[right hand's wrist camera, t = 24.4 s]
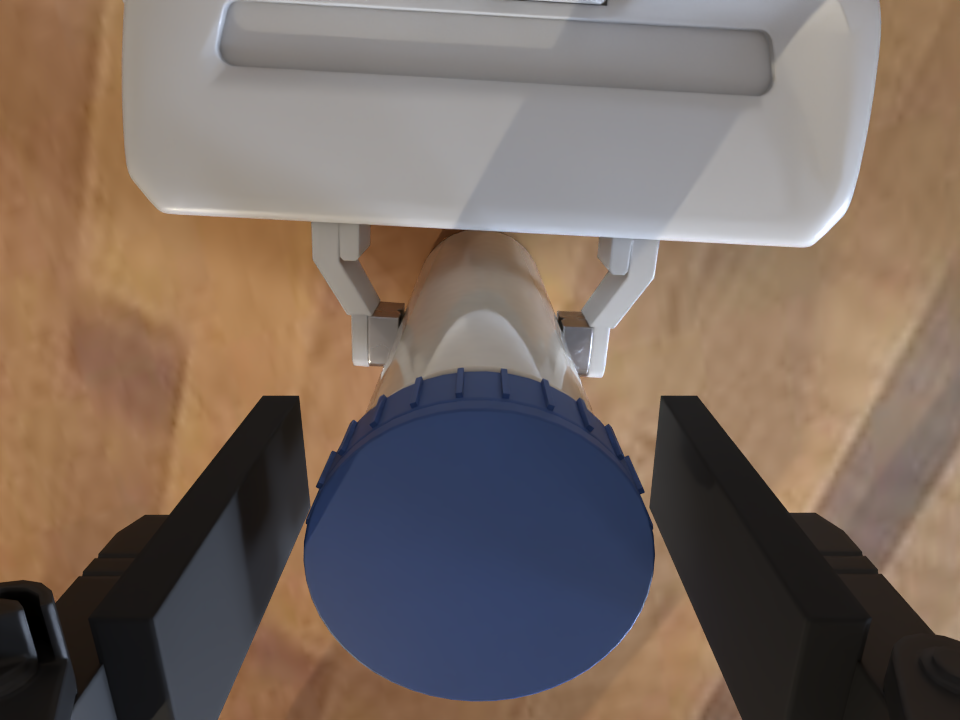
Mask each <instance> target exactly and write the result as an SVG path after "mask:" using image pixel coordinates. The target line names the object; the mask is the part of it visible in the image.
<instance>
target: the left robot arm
mask: <svg viewBox="0 0 960 720" xmlns="http://www.w3.org/2000/svg"><path fill="white" fill-rule="evenodd" d="M123 2H124V17H123V41H122V110H123V130H124V146H125V156H126V164H127V168H128V172H129V175H130V177H131V179H132V180H133V181H134V183H135V184H136V185H137V186H138V187H139V189H140V190H141V191H142V192H143V193H144V195H145V196H146V197H147V198H148V199H149V201H150V202H151V203H152V204H153V205H154V206H155V207H156V208H157V209H158V210H159V211H161V212H163V213H167V214H180V215H199V216H218V217H236V218H255V219H274V220H293V221H311V224H312V253H313V261H314V262H315V264H316V266H317V267H318V269H319V270H320V272H321V274H322V275H323V277H324V278H325V280H326V282H327V283H328V285H329V286H330V288H331V290H332V291H333V293H334V294H335V296H336V297H337V299H338V301H339V302H340V304H341V305H342V307H343V309H344V310H345V312H346V313H347V315H351V319H352V360H353V364H354V365H356V366H367V367H369V366H384V364H385V362H386V359H387V357H388V354H389V351H390V349H391V346H392V344H393V341H394V339H395V336H396V333H397V331H398V328H399V326H400V323H401V321H402V318H403V316H404V313H405V303H392V302H380V299H379V297H378V295H377V293H376V291H375V290H374V288H373V286H372V284H371V282H370V280H369V279H368V277H367V275H366V273H365V271H364V269H363V268H362V266H361V264H360V262H359V260H358V258H359V257H360V256H361V255H362V254H363V253H364V251H365V250H366V249H367V248H368V247H369V246H370V225H387V226H406V227H425V228H444V229H462V230H481V231H500V232H519V233H538V234H557V235H575V236H594V237H599V245H598V255H597V257H598V258H599V260H600V261H601V262H602V263H603V264H604V266H605V267H606V268H607V269H608V270H609V271H608V273H607V274H606V275H605V277H604V278H603V280H602V281H601V283H600V284H599V286H598V287H597V288H596V290H595V291H594V293H593V294H592V296H591V297H590V298H589V300H588V301H587V303H586V304H585V306H584V307H583V308H582V310H581V311H582V312H568V311H557V320H558V323H559V326H560V328H561V331H562V333H563V336H564V338H565V341H566V344H567V346H568V349H569V351H570V354H571V357H572V359H573V362H574V364H575V367H576V370H577V372H578V375H579V377H597V378H601V377H602V376H603V374H604V371H605V364H606V356H607V348H608V340H609V332H610V328H615V326H616V325H617V324H618V323H619V321H620V320H621V319H622V318H623V316H624V315H625V314H626V313H627V311H628V310H629V309H630V308H631V306H632V305H633V304H634V302H635V301H636V300H637V299H638V297H639V296H640V295H641V294H642V292H643V291H644V290H645V289H646V287H647V286H648V285H649V283H650V282H651V281H652V280H653V278H654V274H655V268H656V261H657V255H658V248H659V242H660V240H670V241H688V242H707V243H726V244H745V245H764V246H783V247H809V246H811V245H813V244H815V243H816V242H817V241H818V240H819V239H821V238H822V237H823V236H824V235H825V234H826V233H827V232H828V231H829V230H830V229H831V228H832V227H833V226H834V225H835V224H836V223H837V222H838V221H839V220H840V219H841V218H842V217H843V216H844V214H845V213H846V211H847V210H848V207H849V205H850V202H851V200H852V197H853V193H854V190H855V186H856V182H857V178H858V174H859V170H860V166H861V161H862V156H863V152H864V147H865V142H866V137H867V132H868V126H869V121H870V115H871V108H872V102H873V96H874V89H875V82H876V74H877V66H878V59H879V49H880V39H881V10H880V2H879V0H123Z"/></svg>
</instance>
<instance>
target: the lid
mask: <svg viewBox="0 0 960 720" xmlns="http://www.w3.org/2000/svg"><path fill="white" fill-rule="evenodd" d="M316 487H317V488H319V491H318V493H317V496H316V498H315V500H314V502H313V505H312V507H311V509H310V512H309V514H308V516H307V519H306V524H307V528H306V534H305V539H304V567H305V575H306V581H307V584H308V588H309V591H310V594H311V598H312V600H313V603H314V605H315V607H316V609H317V611H318V613H319V616H320V617H321V619H322V620H323V622H324V624H325V625H326V627H327V628H328V630H329V631H330V633H331V634H332V635H333V636H334V637H335V639H336V640H337V641H338V642H339V643H340V644H341V646H342V647H343V648H344V649H345V650H346V651H348V652H349V653H350V654H351V655H352V656H353V657H354V658H355V659H356V660H358V661H359V662H360V663H362V664H363V665H365V666H366V667H367V668H369V669H370V670H372V671H373V672H375V673H376V674H378V675H380V676H382V677H384V678H386V679H387V680H389V681H391V682H393V683H396V684H398V685H400V686H403V687H405V688H408V689H410V690H413V691H417V692H420V693H423V694H427V695H430V696H435V697H440V698H446V699H451V700H463V701H497V700H505V699H514V698H518V697H523V696H528V695H532V694H536V693H539V692H542V691H545V690H548V689H551V688H554V687H556V686H558V685H560V684H563V683H565V682H567V681H569V680H571V679H573V678H575V677H577V676H578V675H580V674H582V673H583V672H585V671H587V670H588V669H590V668H591V667H593V666H594V665H595V664H597V663H598V662H599V661H601V660H602V659H603V658H604V657H606V656H607V655H608V654H609V653H610V652H611V651H612V650H613V649H614V648H615V647H616V646H617V645H618V644H619V643H620V642H621V640H622V639H623V638H624V637H625V635H626V634H627V633H628V632H629V630H630V629H631V628H632V626H633V624H634V623H635V621H636V619H637V618H638V616H639V614H640V612H641V611H642V608H643V606H644V603H645V601H646V598H647V596H648V593H649V589H650V585H651V581H652V577H653V571H654V560H655V549H654V536H653V531H652V530H653V524H652V521H651V519H650V517H649V514H648V512H647V510H646V507H645V505H644V503H643V500H642V498H641V496H640V494H642V493H644V489H643V487H642V485H641V482H640V480H639V478H638V476H637V473H636V471H635V469H634V467H633V464H632V462H631V460H630V458H629V456H626V457H624V455H623V452H622V450H621V448H620V445H619V443H618V441H617V438H616V436H615V434H614V431H613V429H612V427H611V426H610V425H609V424H608V425H606V426H604V425H603V424H602V423H601V421H600V420H599V419H598V418H596V417H595V416H594V415H593V414H592V413H591V412H590V411H589V410H588V409H587V407H586V404H585V402H584V400H583V399H581V398H579V399H578V400H577V401H576V400H574V399H573V398H571V397H570V396H569V395H567V394H565V393H563V392H561V391H559V390H557V389H555V388H553V387H551V386H550V385H549V381H548V380H546V379H544V378H543V379H542V381H541V382H538V381H536V380H533V379H530V378H526V377H522V376H517V375H513V374H508V372H507V369H504V368H501V371H500V373H499V372H489V371H475V372H464V368H458V369H457V373H452V374H445V375H440V376H437V377H433V378H429V379H426V380H423V378H422V376H421V377H418V378H416V380H415V384H412V385H410V386H408V387H405V388H403V389H401V390H399V391H397V392H396V393H394V394H392V395H390V396H389V397H386V396H385V395H384V394H383V395H382V396H380V397H379V399H378V402H377V404H376V406H375V407H373V408H372V409H371V410H369V411H368V412H367V413H366V414H365V415H364V416H363V417H362V418H361V419H360V420H359V421H358V422H356V421H355V420H353V421H352V422H351V423H350V425H349V427H348V429H347V432H346V434H345V436H344V439H343V441H342V443H341V445H340V447H339V449H338V451H337V452H334V451H332V452H331V454H330V456H329V459H328V461H327V463H326V465H325V467H324V470H323V472H322V474H321V476H320V479H319V481H318V483H317V485H316Z"/></svg>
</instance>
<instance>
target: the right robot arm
mask: <svg viewBox="0 0 960 720" xmlns="http://www.w3.org/2000/svg"><path fill="white" fill-rule="evenodd" d="M309 510H310V498H309V488H308V478H307V469H306V459H305V449H304V440H303V430H302V420H301V410H300V401H299V396H262V398H261V399H260V400H259V402H258V403H257V404H256V405H255V407H254V408H253V409H252V410H251V412H250V413H249V414H248V415H247V417H246V418H245V419H244V421H243V422H242V423H241V424H240V426H239V427H238V428H237V429H236V431H235V432H234V433H233V435H232V436H231V437H230V438H229V440H228V441H227V442H226V443H225V445H224V446H223V447H222V449H221V450H220V451H219V452H218V454H217V455H216V456H215V457H214V459H213V460H212V461H211V463H210V464H209V465H208V466H207V468H206V469H205V470H204V471H203V473H202V474H201V475H200V477H199V478H198V479H197V480H196V482H195V483H194V484H193V485H192V487H191V488H190V489H189V491H188V492H187V493H186V494H185V496H184V497H183V498H182V499H181V501H180V502H179V503H178V505H177V506H176V507H175V508H174V510H173V511H172V512H171V513H170V515H144V516H143V517H141V518H140V519H138V520H136V521H135V522H133V523H132V524H130V525H129V526H127V527H126V528H124V529H122V530H121V531H119V532H118V533H117V534H116V535H115V536H114V537H113V538H112V539H111V540H110V542H109V543H108V544H107V545H106V546H105V547H104V548H103V550H102V551H101V552H100V553H99V554H98V555H99V556H98V558H95V559H94V560H93V561H92V562H91V563H90V564H89V565H88V567H87V568H86V569H85V570H84V571H83V576H79V577H78V578H77V579H76V580H75V581H74V583H73V584H72V585H71V586H70V587H69V588H68V589H67V590H66V592H65V593H64V594H63V595H62V596H61V597H60V598H59V600H58V601H57V602H56V603H55V601H54V598H53V594H52V591H51V590H50V589H49V588H47V587H46V586H45V585H43V584H42V583H39V582H33V581H26V580H20V581H11V582H2V583H0V720H218V718H219V715H220V713H221V711H222V709H223V706H224V704H225V702H226V699H227V697H228V695H229V693H230V690H231V688H232V686H233V683H234V681H235V679H236V677H237V674H238V672H239V670H240V667H241V665H242V663H243V661H244V658H245V656H246V654H247V651H248V649H249V647H250V645H251V642H252V640H253V638H254V635H255V633H256V631H257V629H258V626H259V624H260V622H261V619H262V617H263V615H264V613H265V610H266V608H267V606H268V603H269V601H270V599H271V597H272V594H273V592H274V590H275V587H276V585H277V583H278V581H279V578H280V576H281V574H282V571H283V569H284V567H285V565H286V562H287V560H288V558H289V555H290V553H291V551H292V549H293V546H294V544H295V542H296V539H297V537H298V535H299V533H300V530H301V528H302V526H303V523H304V521H305V519H306V517H307V514H308V512H309ZM650 510H651V512H652V514H653V517H654V519H655V521H656V523H657V526H658V528H659V530H660V533H661V535H662V537H663V539H664V542H665V544H666V546H667V549H668V551H669V553H670V555H671V558H672V560H673V562H674V565H675V567H676V569H677V571H678V574H679V576H680V578H681V581H682V583H683V585H684V587H685V590H686V592H687V594H688V597H689V599H690V601H691V603H692V606H693V608H694V610H695V613H696V615H697V617H698V619H699V622H700V624H701V626H702V629H703V631H704V633H705V635H706V638H707V640H708V642H709V645H710V647H711V649H712V651H713V654H714V656H715V658H716V661H717V663H718V665H719V667H720V670H721V672H722V674H723V677H724V679H725V681H726V683H727V686H728V688H729V690H730V693H731V695H732V697H733V699H734V702H735V704H736V706H737V709H738V711H739V713H740V715H741V718H742V720H960V641H957V640H954V639H951V638H948V637H946V636H940V635H935V634H934V633H933V631H932V630H931V629H930V628H929V627H928V626H927V625H926V624H925V622H924V621H923V620H922V619H921V618H920V617H919V616H918V615H917V613H916V612H915V611H914V610H913V609H912V608H911V607H910V605H909V604H908V603H907V602H906V601H905V600H904V599H903V598H902V596H901V595H900V594H899V593H898V592H897V591H896V590H895V589H894V587H893V586H892V585H891V584H890V583H889V582H888V581H887V579H886V578H885V577H884V576H883V575H882V574H878V569H877V568H876V567H875V566H874V565H873V564H872V563H871V561H870V560H869V559H868V558H867V557H866V556H863V555H862V551H861V550H860V549H859V548H858V547H857V546H856V544H855V543H854V542H853V541H852V540H851V539H850V538H849V537H848V535H847V534H846V533H845V532H844V531H843V530H841V529H840V528H838V527H837V526H835V525H834V524H832V523H830V522H829V521H827V520H826V519H824V518H823V517H821V516H820V515H818V514H816V513H789V512H788V511H787V510H786V508H785V507H784V506H783V505H782V503H781V502H780V501H779V499H778V498H777V497H776V496H775V494H774V493H773V492H772V491H771V489H770V488H769V487H768V485H767V484H766V483H765V482H764V480H763V479H762V478H761V477H760V475H759V474H758V473H757V471H756V470H755V469H754V468H753V466H752V465H751V464H750V463H749V461H748V460H747V459H746V457H745V456H744V455H743V454H742V452H741V451H740V450H739V449H738V447H737V446H736V445H735V443H734V442H733V441H732V440H731V438H730V437H729V436H728V435H727V433H726V432H725V431H724V429H723V428H722V427H721V426H720V424H719V423H718V422H717V421H716V419H715V418H714V417H713V416H712V414H711V413H710V412H709V410H708V409H707V408H706V407H705V405H704V404H703V403H702V402H701V400H700V399H699V398H698V396H661V401H660V410H659V420H658V430H657V440H656V449H655V459H654V469H653V478H652V488H651V498H650Z"/></svg>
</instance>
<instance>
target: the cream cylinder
mask: <svg viewBox="0 0 960 720" xmlns="http://www.w3.org/2000/svg"><path fill="white" fill-rule="evenodd" d="M458 368H464V372H475V371H489V372H499V373H500V371H501V368H504V369H507V372H508V374H513V375H517V376H522V377H526V378H530V379H533V380H536V381H538V382H541V381H542V379H543V378H544V379H546V380H548V381H549V385H550V386H551V387H553V388H555V389H557V390H559V391H561V392H563V393H565V394H567V395H569V396H570V397H571V398H573V399H574V400H576V401H577V400H578V399H579V398H581V399H583V400H584V402H585V404H586V407H587V409H588V410H589V411H590V412H591V413H592V414H593V411H592V408H591V406H590V403H589V401H588V398H587V395H586V393H585V390H584V388H583V385H582V382H581V380H580V377H579V375H578V372H577V370H576V367H575V364H574V362H573V359H572V357H571V354H570V351H569V349H568V346H567V344H566V341H565V338H564V336H563V333H562V331H561V328H560V326H559V323H558V320H557V318H556V315H555V313H554V310H553V307H552V305H551V302H550V300H549V297H548V294H547V292H546V289H545V287H544V284H543V282H542V279H541V276H540V274H539V271H538V269H537V266H536V264H535V262H534V260H533V258H532V257H531V255H530V254H529V253H528V251H527V250H526V249H525V248H524V247H523V246H522V245H521V244H520V243H518V242H517V241H516V240H514V239H513V238H511V237H509V236H507V235H505V234H503V233H500V232H497V231H481V230H466V231H462V232H459V233H456V234H454V235H452V236H450V237H448V238H446V239H445V240H444V241H442V242H441V243H440V244H439V245H437V246H436V247H435V248H434V249H433V251H432V252H431V253H430V254H429V256H428V257H427V259H426V261H425V263H424V265H423V267H422V269H421V272H420V275H419V277H418V280H417V282H416V285H415V287H414V290H413V292H412V295H411V298H410V300H409V303H408V305H407V308H406V310H405V313H404V316H403V318H402V321H401V323H400V326H399V328H398V331H397V333H396V336H395V339H394V341H393V344H392V346H391V349H390V351H389V354H388V357H387V359H386V362H385V364H384V367H383V369H382V372H381V374H380V377H379V380H378V382H377V385H376V387H375V390H374V392H373V395H372V397H371V400H370V403H369V405H368V408H367V410H366V413H367V412H368V411H369V410H371V409H372V408H373V407H375V406H376V404H377V402H378V399H379V397H380V396H382V395H383V394H384V395H385V396H386V397H389V396H390V395H392V394H394V393H396V392H397V391H399V390H401V389H403V388H405V387H408V386H410V385H412V384H415V380H416V378H418V377H421V376H422V378H423V380H426V379H429V378H433V377H437V376H440V375H445V374H452V373H457V369H458ZM366 413H365V414H366ZM593 415H594V414H593Z"/></svg>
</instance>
